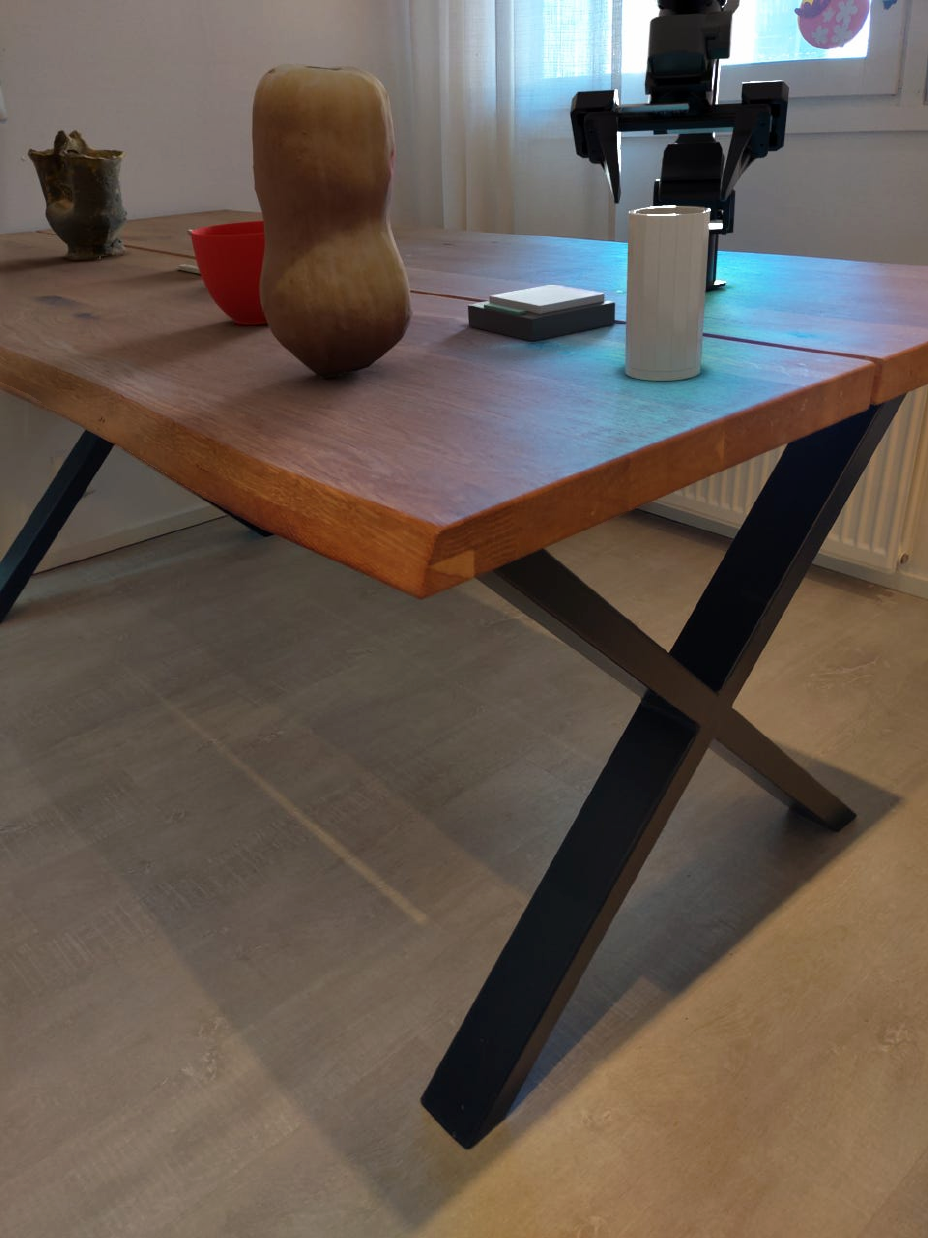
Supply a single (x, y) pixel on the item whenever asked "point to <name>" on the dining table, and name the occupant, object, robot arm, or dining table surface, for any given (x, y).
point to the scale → (542, 312)
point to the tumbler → (666, 291)
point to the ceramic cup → (233, 267)
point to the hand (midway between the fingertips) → (668, 198)
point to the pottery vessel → (82, 195)
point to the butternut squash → (328, 216)
